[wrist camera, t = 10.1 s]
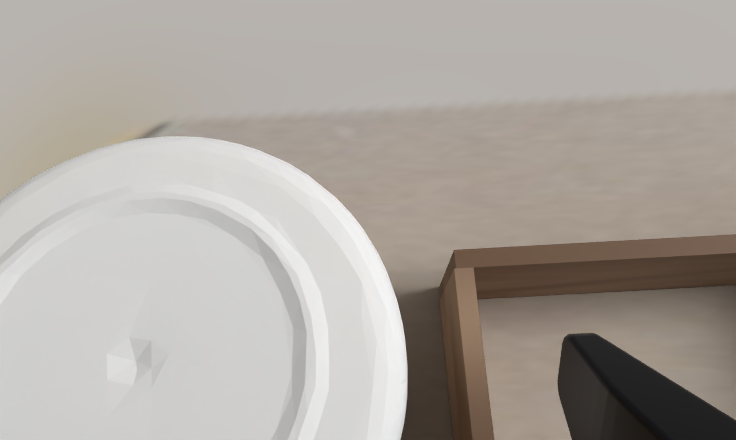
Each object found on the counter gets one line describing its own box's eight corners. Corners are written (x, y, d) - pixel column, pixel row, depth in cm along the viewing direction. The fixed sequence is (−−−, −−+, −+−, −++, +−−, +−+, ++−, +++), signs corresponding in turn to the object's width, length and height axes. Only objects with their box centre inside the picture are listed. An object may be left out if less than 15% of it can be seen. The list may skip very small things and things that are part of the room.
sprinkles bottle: (421, 403, 17) (528, 327, 4) (322, 531, 16) (94, 915, 3) (311, 308, 18) (149, 37, 6) (211, 422, 17) (-272, 399, 4)
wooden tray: (985, 585, 15) (1185, 638, 11) (469, 612, 15) (498, 672, 11) (863, 262, 18) (988, 220, 14) (438, 286, 18) (452, 250, 15)
